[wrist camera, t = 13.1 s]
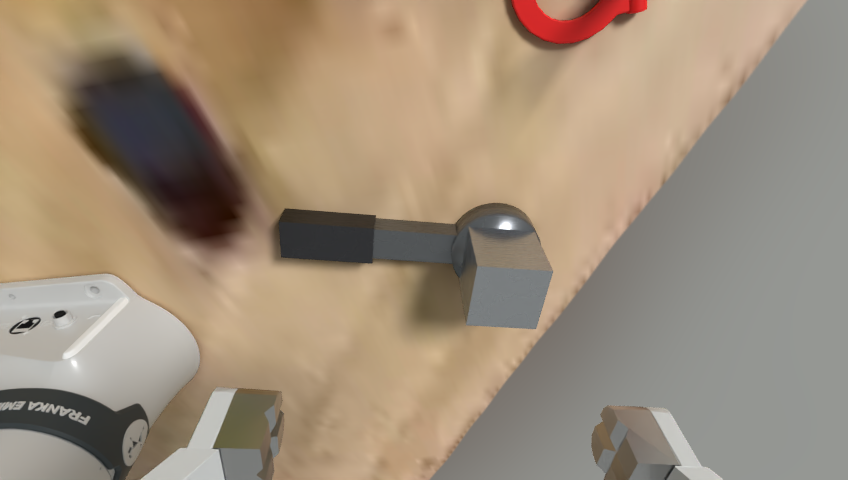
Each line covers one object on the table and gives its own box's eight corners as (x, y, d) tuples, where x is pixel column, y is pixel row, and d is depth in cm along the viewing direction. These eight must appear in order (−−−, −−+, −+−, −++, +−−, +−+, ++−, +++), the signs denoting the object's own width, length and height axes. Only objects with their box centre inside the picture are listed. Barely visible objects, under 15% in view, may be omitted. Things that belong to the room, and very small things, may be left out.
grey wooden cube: (459, 281, 42) (466, 325, 37) (468, 226, 40) (477, 266, 34) (520, 285, 43) (535, 329, 38) (534, 231, 40) (553, 271, 35)
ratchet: (288, 262, 44) (272, 302, 39) (284, 186, 40) (265, 219, 35) (524, 278, 46) (539, 318, 40) (543, 206, 42) (562, 241, 36)
